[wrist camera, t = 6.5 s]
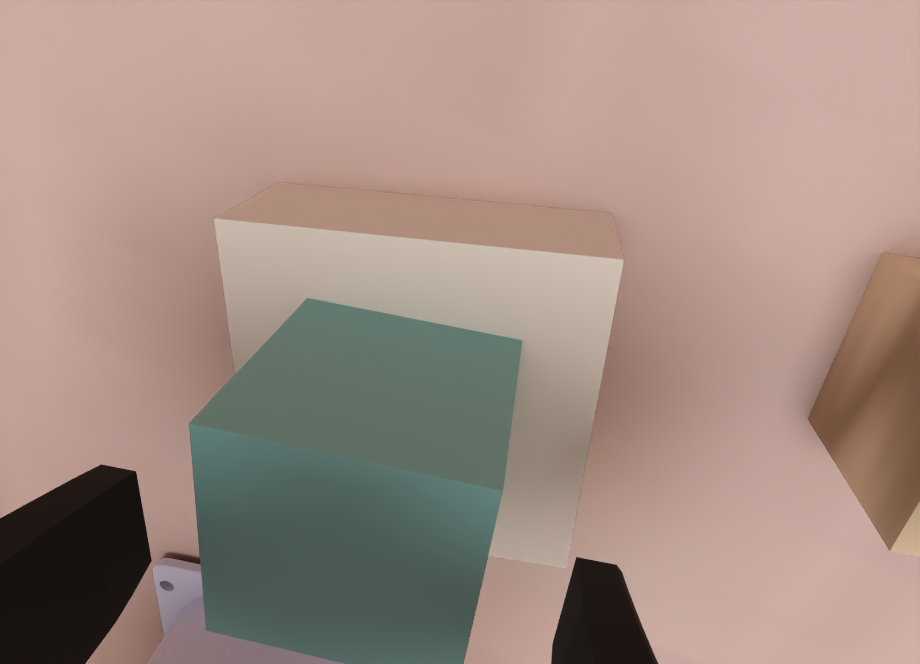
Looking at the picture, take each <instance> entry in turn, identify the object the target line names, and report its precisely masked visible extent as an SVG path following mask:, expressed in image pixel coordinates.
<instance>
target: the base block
mask: <svg viewBox="0 0 920 664" xmlns="http://www.w3.org/2000/svg"><path fill="white" fill-rule="evenodd" d="M214 224H215V231H216V238H217V246H218V253H219V261H220V268H221V275H222V283H223V290H224V297H225V305H226V312H227V320H228V327H229V334H230V342H231V349H232V356H233V364H234V371H235V374H236V373H237V372H238V371H239V370H240V369H241V368H242V367H243V366H244V365H245V364H246V363H247V361H248V360H249V359H250V358H251V357H252V356H253V355H254V354H255V353H256V352H257V351H258V350H259V349H260V348H261V347H262V346H263V344H264V343H265V342H266V341H267V340H268V339H269V338H270V337H271V336H272V335H273V334H274V333H275V332H276V331H277V330H278V329H279V327H280V326H281V325H282V324H283V323H284V322H285V321H286V320H287V319H288V318H289V317H290V316H291V315H292V314H293V313H294V312H295V310H296V309H297V308H298V307H299V306H300V305H301V304H302V303H303V302H304V301H305V300H306V299H307V298H311V299H316V300H321V301H326V302H331V303H336V304H341V305H346V306H351V307H356V308H362V309H367V310H372V311H377V312H382V313H387V314H392V315H397V316H402V317H407V318H412V319H417V320H422V321H427V322H433V323H438V324H443V325H448V326H453V327H458V328H463V329H468V330H473V331H478V332H483V333H488V334H493V335H498V336H503V337H509V338H514V339H519V340H522V347H521V355H520V363H519V371H518V379H517V386H516V394H515V402H514V410H513V418H512V426H511V433H510V441H509V449H508V457H507V465H506V473H505V480H504V488H503V494H502V498H501V503H500V507H499V511H498V516H497V520H496V524H495V529H494V533H493V537H492V542H491V546H490V550H489V555H488V556H490V557H496V558H502V559H509V560H515V561H521V562H528V563H534V564H541V565H547V566H553V567H560V568H566V567H567V562H568V557H569V551H570V546H571V540H572V535H573V530H574V524H575V519H576V514H577V508H578V503H579V498H580V492H581V487H582V482H583V476H584V471H585V466H586V460H587V455H588V450H589V444H590V439H591V434H592V428H593V423H594V418H595V412H596V407H597V402H598V396H599V391H600V385H601V380H602V375H603V369H604V364H605V359H606V353H607V348H608V343H609V337H610V332H611V327H612V321H613V316H614V311H615V305H616V300H617V295H618V289H619V284H620V279H621V273H622V268H623V263H624V258H623V254H622V250H621V246H620V242H619V238H618V234H617V231H616V227H615V223H614V219H613V215H612V213H605V212H594V211H583V210H572V209H561V208H551V207H540V206H529V205H518V204H507V203H497V202H486V201H475V200H464V199H453V198H443V197H432V196H421V195H410V194H400V193H389V192H378V191H367V190H356V189H346V188H335V187H324V186H313V185H302V184H292V183H281V182H279V183H277V184H275V185H273V186H271V187H270V188H268V189H266V190H264V191H262V192H261V193H259V194H257V195H255V196H253V197H252V198H250V199H248V200H246V201H244V202H243V203H241V204H239V205H237V206H235V207H233V208H232V209H230V210H228V211H226V212H224V213H223V214H221V215H219V216H217V217H215V218H214Z"/></svg>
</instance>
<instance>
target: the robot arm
mask: <svg viewBox="0 0 920 664" xmlns="http://www.w3.org/2000/svg"><path fill="white" fill-rule="evenodd" d="M151 561H152V560H151V555H150V549H149V543H148V537H147V532H146V526H145V520H144V515H143V509H142V503H141V497H140V492H139V486H138V480H137V474H136V471H131V470H126V469H121V468H116V467H111V466H106V465H100V466H98V467H96V468H94V469H92V470H90V471H88V472H85V473H84V474H82V475H80V476H78V477H76V478H74V479H72V480H70V481H68V482H66V483H65V484H63V485H61V486H59V487H57V488H55V489H53V490H52V491H50V492H48V493H46V494H44V495H42V496H41V497H39V498H37V499H35V500H33V501H31V502H30V503H28V504H26V505H24V506H22V507H20V508H19V509H17V510H15V511H13V512H11V513H9V514H8V515H6V516H4V517H2V518H0V664H85V663H86V662H87V660H88V659H89V658H90V656H91V655H92V654H93V652H94V651H95V650H96V648H97V647H98V646H99V644H100V643H101V642H102V640H103V639H104V638H105V636H106V635H107V633H108V632H109V631H110V629H111V628H112V627H113V625H114V624H115V622H116V621H117V619H118V618H119V616H120V614H121V613H122V611H123V609H124V608H125V606H126V605H127V603H128V601H129V600H130V598H131V596H132V595H133V593H134V591H135V589H136V588H137V586H138V584H139V582H140V580H141V579H142V577H143V575H144V573H145V572H146V570H147V568H148V566H149V564H150V563H151ZM153 577H154V583H155V589H156V594H157V600H158V605H159V611H160V616H161V622H162V627H163V633H164V637H163V639H162V640H161V642H160V643H159V645H158V646H157V648H156V649H155V651H154V652H153V654H152V656H151V657H150V659H149V660H148V662H147V663H146V664H344V663H340V662H336V661H332V660H327V659H323V658H319V657H315V656H311V655H306V654H302V653H298V652H294V651H290V650H285V649H281V648H277V647H273V646H269V645H264V644H260V643H256V642H252V641H248V640H243V639H239V638H235V637H231V636H227V635H223V634H218V633H214V632H210V631H206V626H205V614H204V601H203V589H202V577H201V564H196V563H191V562H187V561H182V560H177V559H172V558H163V559H160V560H159V561H158V562H157V564H156V565H155V566H154V568H153ZM551 664H658V662H657V660H656V658H655V656H654V653H653V651H652V648H651V646H650V644H649V641H648V639H647V637H646V634H645V632H644V629H643V627H642V625H641V622H640V620H639V617H638V615H637V612H636V609H635V607H634V604H633V602H632V599H631V596H630V594H629V591H628V588H627V585H626V583H625V580H624V577H623V574H622V572H621V570H620V569H619V568H618V566H617V565H614V564H609V563H604V562H599V561H594V560H588V559H583V558H578V557H576V561H575V565H574V568H573V572H572V575H571V579H570V583H569V586H568V590H567V594H566V597H565V601H564V604H563V608H562V612H561V615H560V619H559V623H558V626H557V630H556V633H555V637H554V641H553V646H552V662H551Z"/></svg>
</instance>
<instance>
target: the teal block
mask: <svg viewBox="0 0 920 664" xmlns="http://www.w3.org/2000/svg"><path fill="white" fill-rule="evenodd" d="M521 347H522V340H519V339H514V338H509V337H503V336H498V335H493V334H488V333H483V332H478V331H473V330H468V329H463V328H458V327H453V326H448V325H443V324H438V323H433V322H427V321H422V320H417V319H412V318H407V317H402V316H397V315H392V314H387V313H382V312H377V311H372V310H367V309H362V308H356V307H351V306H346V305H341V304H336V303H331V302H326V301H321V300H316V299H311V298H307V299H306V300H305V301H304V302H303V303H302V304H301V305H300V306H299V307H298V308H297V309H296V310H295V312H294V313H293V314H292V315H291V316H290V317H289V318H288V319H287V320H286V321H285V322H284V323H283V324H282V325H281V326H280V327H279V329H278V330H277V331H276V332H275V333H274V334H273V335H272V336H271V337H270V338H269V339H268V340H267V341H266V342H265V343H264V344H263V346H262V347H261V348H260V349H259V350H258V351H257V352H256V353H255V354H254V355H253V356H252V357H251V358H250V359H249V360H248V361H247V363H246V364H245V365H244V366H243V367H242V368H241V369H240V370H239V371H238V372H237V373H236V374H235V375H234V376H233V377H232V379H231V380H230V381H229V382H228V383H227V384H226V385H225V386H224V387H223V388H222V389H221V390H220V391H219V392H218V393H217V394H216V396H215V397H214V398H213V399H212V400H211V401H210V402H209V403H208V404H207V405H206V406H205V407H204V408H203V409H202V410H201V411H200V413H199V414H198V415H197V416H196V417H195V418H194V419H193V420H192V421H191V422H190V423H189V428H190V441H191V453H192V465H193V478H194V490H195V503H196V515H197V527H198V540H199V552H200V564H201V577H202V589H203V601H204V614H205V626H206V631H210V632H214V633H218V634H223V635H227V636H231V637H235V638H239V639H243V640H248V641H252V642H256V643H260V644H264V645H269V646H273V647H277V648H281V649H285V650H290V651H294V652H298V653H302V654H306V655H311V656H315V657H319V658H323V659H327V660H332V661H336V662H340V663H344V664H463V663H464V659H465V655H466V650H467V646H468V641H469V637H470V633H471V628H472V624H473V620H474V615H475V611H476V607H477V602H478V598H479V594H480V589H481V585H482V581H483V576H484V572H485V568H486V563H487V559H488V555H489V550H490V546H491V542H492V537H493V533H494V529H495V524H496V520H497V516H498V511H499V507H500V503H501V498H502V494H503V488H504V480H505V473H506V465H507V457H508V449H509V441H510V433H511V426H512V418H513V410H514V402H515V394H516V386H517V379H518V371H519V363H520V355H521Z"/></svg>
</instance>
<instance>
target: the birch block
mask: <svg viewBox="0 0 920 664" xmlns="http://www.w3.org/2000/svg"><path fill="white" fill-rule="evenodd" d="M808 420H809V422H810V423H811V425H812V427H813V428H814V430H815V431H816V433H817V435H818V436H819V438H820V439H821V441H822V443H823V444H824V446H825V448H826V449H827V451H828V452H829V454H830V456H831V457H832V459H833V460H834V462H835V464H836V465H837V467H838V468H839V470H840V472H841V473H842V475H843V476H844V478H845V480H846V481H847V483H848V485H849V486H850V488H851V489H852V491H853V493H854V494H855V496H856V497H857V499H858V501H859V502H860V504H861V505H862V507H863V509H864V510H865V512H866V513H867V515H868V517H869V518H870V520H871V522H872V523H873V525H874V526H875V528H876V530H877V531H878V533H879V534H880V536H881V538H882V539H883V541H884V542H885V544H886V546H887V547H888V549H889V551H892V552H898V553H903V554H909V555H914V556H920V258H915V257H908V256H901V255H894V254H887V253H882V255H881V257H880V259H879V262H878V264H877V266H876V268H875V271H874V273H873V275H872V277H871V279H870V282H869V284H868V286H867V288H866V291H865V293H864V295H863V297H862V299H861V302H860V304H859V306H858V308H857V310H856V313H855V315H854V317H853V319H852V322H851V324H850V326H849V328H848V330H847V333H846V335H845V337H844V339H843V342H842V344H841V346H840V348H839V350H838V353H837V355H836V357H835V359H834V362H833V364H832V366H831V368H830V370H829V373H828V375H827V377H826V379H825V382H824V384H823V386H822V388H821V390H820V393H819V395H818V397H817V399H816V401H815V404H814V406H813V408H812V410H811V413H810V415H809V417H808Z"/></svg>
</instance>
